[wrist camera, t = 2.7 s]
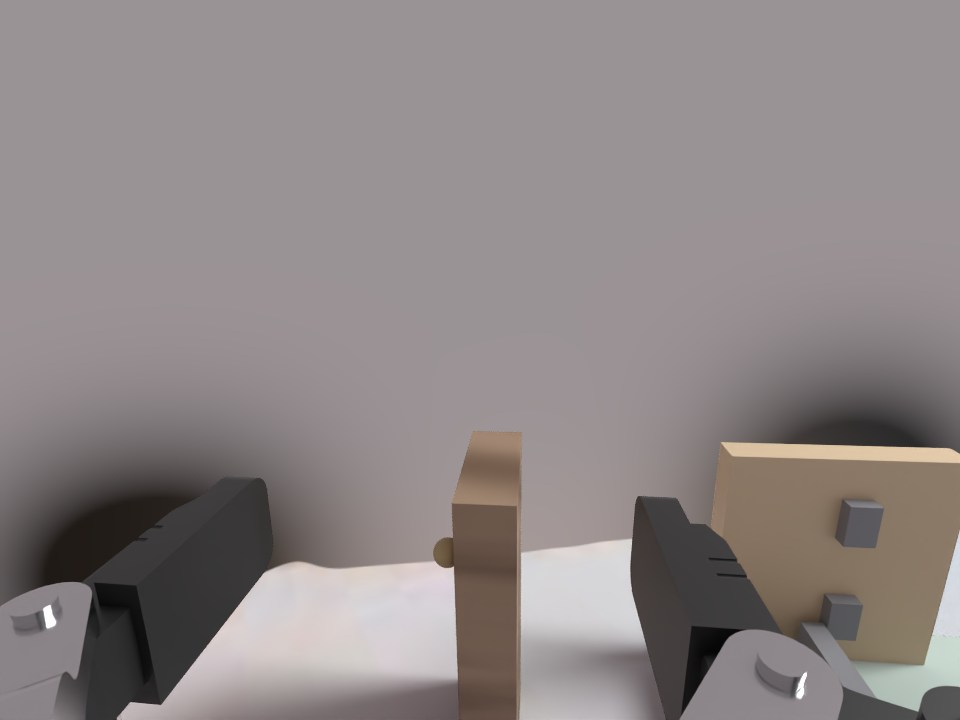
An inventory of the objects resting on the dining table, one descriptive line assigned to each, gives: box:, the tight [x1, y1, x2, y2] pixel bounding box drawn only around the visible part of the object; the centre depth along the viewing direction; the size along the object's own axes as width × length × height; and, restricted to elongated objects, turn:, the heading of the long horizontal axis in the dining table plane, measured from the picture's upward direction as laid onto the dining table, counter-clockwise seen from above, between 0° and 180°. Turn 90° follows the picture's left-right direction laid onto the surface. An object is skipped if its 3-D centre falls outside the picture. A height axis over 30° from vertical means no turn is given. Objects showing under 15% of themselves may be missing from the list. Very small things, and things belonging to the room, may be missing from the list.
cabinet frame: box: [711, 442, 960, 711], centre depth 23 cm, size 17×18×14 cm
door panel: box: [433, 431, 522, 720], centre depth 25 cm, size 7×4×16 cm, turn 174°
